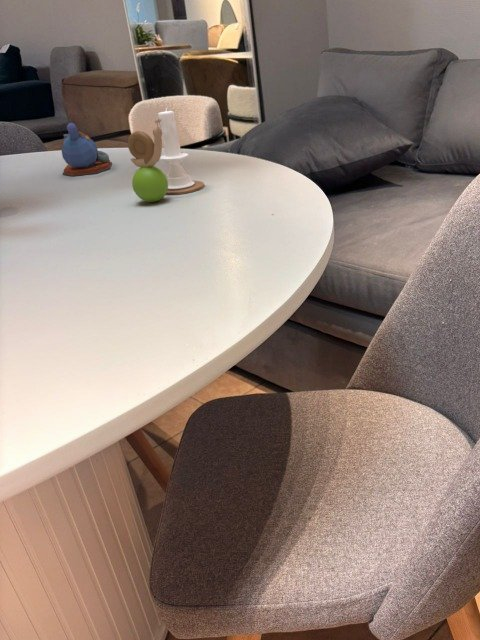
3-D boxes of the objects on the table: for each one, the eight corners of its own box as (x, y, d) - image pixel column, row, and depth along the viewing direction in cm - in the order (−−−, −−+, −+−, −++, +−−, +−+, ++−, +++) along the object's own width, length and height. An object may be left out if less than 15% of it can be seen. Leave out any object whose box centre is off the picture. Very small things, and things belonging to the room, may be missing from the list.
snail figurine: (165, 206, 97) (149, 122, 91) (129, 206, 99) (111, 123, 93) (182, 197, 102) (168, 115, 95) (147, 196, 104) (131, 117, 97)
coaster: (152, 196, 104) (152, 194, 103) (161, 185, 110) (160, 182, 110) (201, 192, 103) (200, 190, 103) (207, 181, 110) (206, 178, 110)
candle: (201, 183, 107) (189, 105, 101) (176, 191, 104) (162, 111, 97) (181, 180, 110) (167, 105, 104) (156, 188, 107) (141, 110, 101)
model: (108, 172, 124) (97, 120, 119) (60, 178, 123) (46, 126, 118) (113, 160, 134) (103, 113, 129) (69, 166, 133) (56, 118, 128)
